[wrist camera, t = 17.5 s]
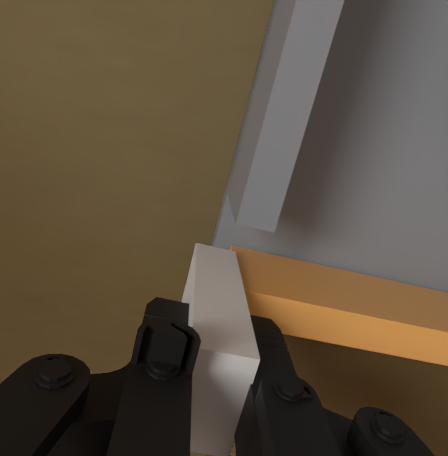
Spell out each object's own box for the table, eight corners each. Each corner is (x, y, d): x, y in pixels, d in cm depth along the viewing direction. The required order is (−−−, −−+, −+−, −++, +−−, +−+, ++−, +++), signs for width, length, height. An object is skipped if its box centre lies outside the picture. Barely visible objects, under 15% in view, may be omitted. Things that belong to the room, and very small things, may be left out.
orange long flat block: (223, 272, 16) (230, 323, 13) (230, 245, 16) (240, 289, 12) (485, 327, 18) (562, 388, 14) (497, 303, 18) (579, 359, 14)
